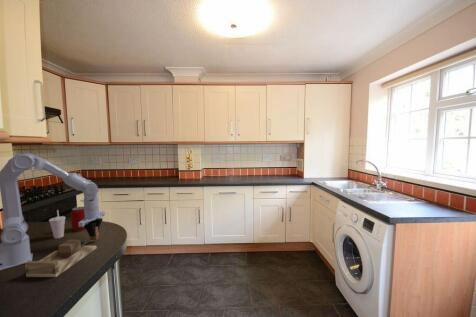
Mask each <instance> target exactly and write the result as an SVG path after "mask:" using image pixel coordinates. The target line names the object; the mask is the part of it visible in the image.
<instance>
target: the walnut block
mask: <svg viewBox="0 0 476 317" xmlns="http://www.w3.org/2000/svg"><path fill="white" fill-rule="evenodd" d="M99 239H100V233H99V232H98V226H96V227H95V236H94V237H90V236H89V235H88V240H87V241H85V242H84V243H81V239H68V240H66V241H64V242H63V243H61V244H59V245H58V251H59V257H60V258H69V257H70V256H72V255H73V254H75V253H76V252H78V251H81V247H82V246H86V244H88V243H90V242H91V241H97V240H99Z"/></svg>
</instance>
